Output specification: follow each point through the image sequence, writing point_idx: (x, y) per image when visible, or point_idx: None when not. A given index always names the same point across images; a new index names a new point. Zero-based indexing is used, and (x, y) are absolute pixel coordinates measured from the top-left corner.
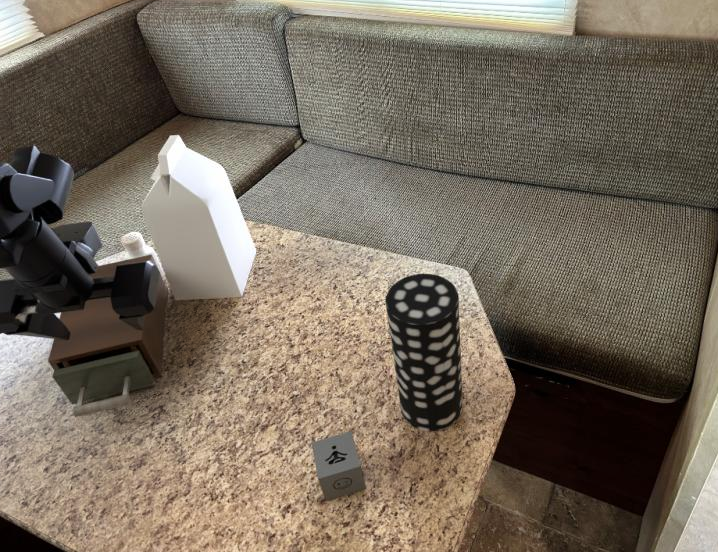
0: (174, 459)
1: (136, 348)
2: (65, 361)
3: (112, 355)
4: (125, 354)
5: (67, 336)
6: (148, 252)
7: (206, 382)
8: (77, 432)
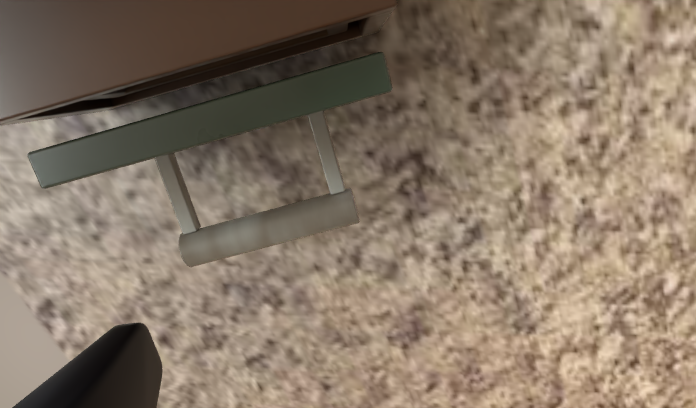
0: (502, 322)
1: None
2: None
3: None
4: (327, 77)
5: (150, 382)
6: None
7: (543, 65)
8: None
